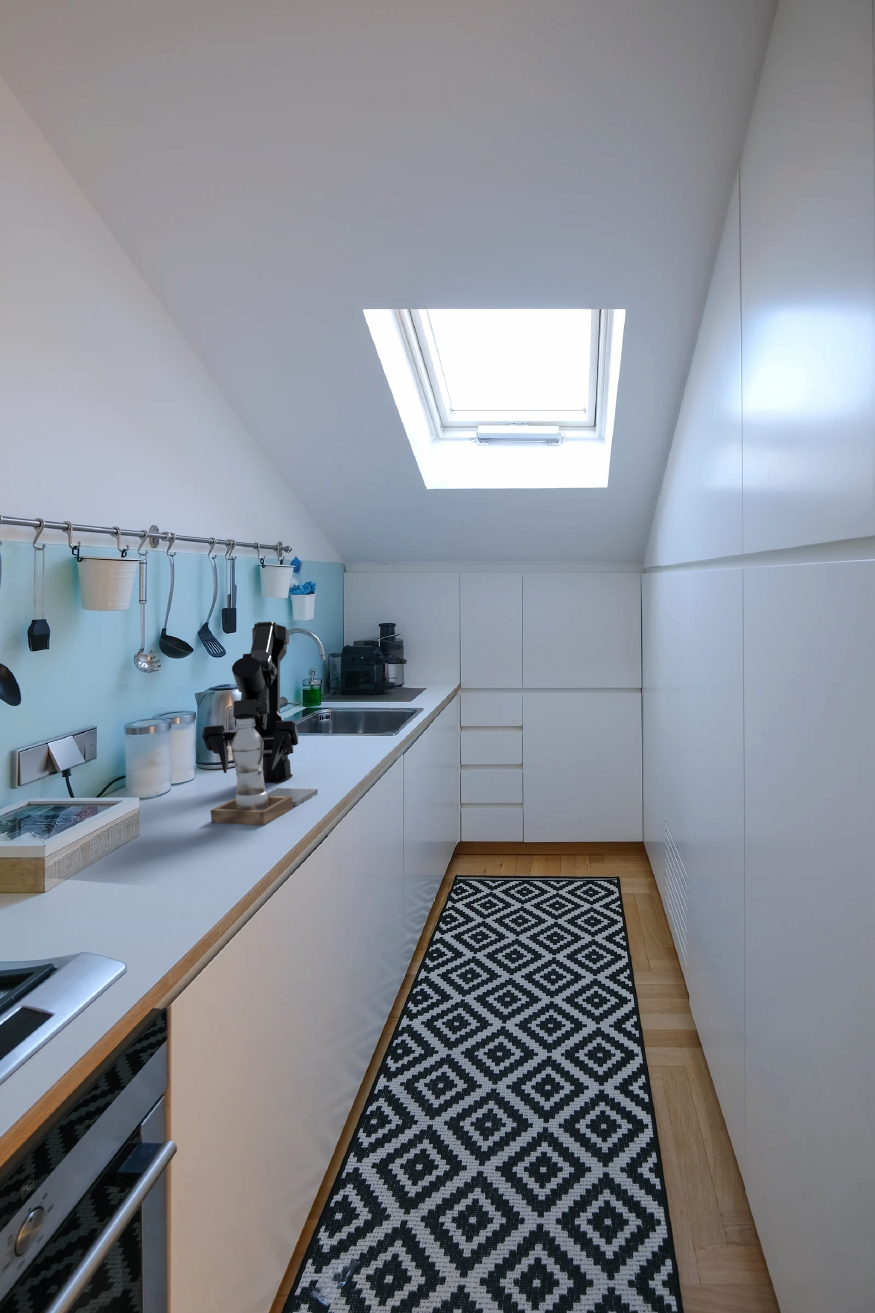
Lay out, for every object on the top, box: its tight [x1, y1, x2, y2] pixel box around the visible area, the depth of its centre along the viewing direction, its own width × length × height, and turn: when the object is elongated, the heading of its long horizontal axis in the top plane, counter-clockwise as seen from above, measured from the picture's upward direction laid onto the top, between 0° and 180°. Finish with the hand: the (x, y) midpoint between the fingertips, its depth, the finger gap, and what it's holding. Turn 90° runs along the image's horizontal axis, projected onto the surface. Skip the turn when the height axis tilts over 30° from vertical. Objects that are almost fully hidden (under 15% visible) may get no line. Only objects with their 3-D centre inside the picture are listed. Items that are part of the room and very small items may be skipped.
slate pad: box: [267, 787, 319, 807], centre depth 164 cm, size 10×10×1 cm
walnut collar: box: [210, 796, 294, 826], centre depth 153 cm, size 12×11×2 cm
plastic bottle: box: [230, 716, 268, 811], centre depth 152 cm, size 6×7×20 cm
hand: (248, 770), depth 150 cm, fingers open, 9 cm apart
